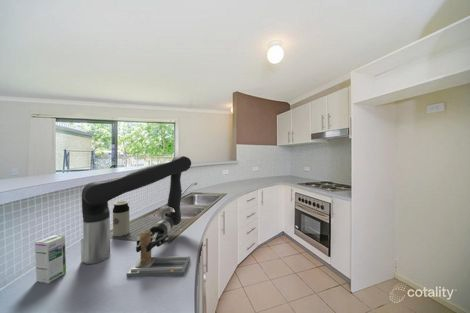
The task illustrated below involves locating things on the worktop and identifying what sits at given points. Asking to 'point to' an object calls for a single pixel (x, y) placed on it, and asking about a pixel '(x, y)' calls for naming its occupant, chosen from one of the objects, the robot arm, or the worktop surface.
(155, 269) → the grey slider track base
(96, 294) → the worktop surface
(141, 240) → the fader tab
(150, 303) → the worktop surface
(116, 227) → the labelled jar
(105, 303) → the worktop surface
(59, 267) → the syrup box
